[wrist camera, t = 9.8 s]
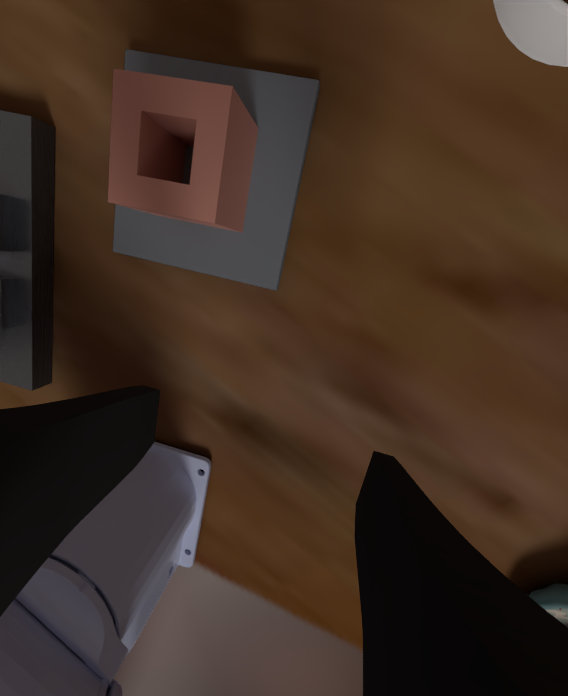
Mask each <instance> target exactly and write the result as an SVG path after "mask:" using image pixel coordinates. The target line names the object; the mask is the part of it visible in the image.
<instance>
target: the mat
mask: <svg viewBox="0 0 568 696" xmlns="http://www.w3.org/2000/svg"><path fill="white" fill-rule="evenodd" d="M124 70H128V71H134V72H141V73H148V74H155V75H161V76H168V77H175V78H182V79H188V80H195V81H202V82H209V83H215V84H222V85H229V86H233V88H234V89H235V91H236V92H237V94H238V96H239V97H240V99H241V101H242V102H243V104H244V106H245V107H246V109H247V111H248V112H249V114H250V115H251V117H252V119H253V120H254V122H255V124H256V125H257V127H258V135H257V141H256V148H255V154H254V161H253V167H252V174H251V180H250V187H249V193H248V200H247V206H246V213H245V219H244V226H243V232H242V233H241V232H236V231H232V230H227V229H222V228H217V227H212V226H207V225H202V224H197V223H192V222H187V221H182V220H177V219H172V218H167V217H162V216H157V215H153V214H150V213H146V212H142V211H139V210H135V209H131V208H128V207H124V206H120V205H117V204H116V208H115V224H114V239H113V252H116V253H121V254H125V255H129V256H133V257H137V258H142V259H146V260H150V261H154V262H158V263H163V264H167V265H171V266H175V267H180V268H184V269H188V270H192V271H196V272H201V273H205V274H209V275H213V276H218V277H222V278H226V279H230V280H234V281H239V282H243V283H247V284H251V285H255V286H260V287H264V288H268V289H272V290H278V287H279V282H280V277H281V273H282V268H283V263H284V258H285V253H286V249H287V244H288V239H289V234H290V229H291V224H292V220H293V215H294V210H295V205H296V200H297V195H298V191H299V186H300V181H301V176H302V171H303V166H304V162H305V157H306V152H307V147H308V142H309V137H310V133H311V128H312V123H313V118H314V113H315V108H316V104H317V99H318V94H319V89H320V83H319V80H315V79H309V78H302V77H296V76H290V75H284V74H278V73H271V72H265V71H259V70H253V69H246V68H240V67H234V66H228V65H222V64H215V63H209V62H203V61H197V60H190V59H184V58H178V57H172V56H166V55H159V54H153V53H147V52H141V51H134V50H128V49H126V50H125V65H124ZM193 148H194V147H192V146H186V154H185V164H184V174H183V184H187V185H190V176H191V167H192V158H193Z"/></svg>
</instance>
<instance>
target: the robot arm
mask: <svg viewBox="0 0 568 696" xmlns="http://www.w3.org/2000/svg"><path fill="white" fill-rule="evenodd" d="M159 396H160V390H157V389H154V388H150V387H147V386H134V387H128V388H122V389H117V390H112V391H107V392H103V393H98V394H93V395H88V396H83V397H78V398H73V399H67V400H62V401H56V402H50V403H45V404H39V405H32V406H25V407H17V408H8V409H0V696H122V688H121V686H120V684H119V683H118V682H117V681H116V680H114V677H115V675H116V673H117V671H118V670H119V668H120V666H121V664H122V662H123V661H124V659H125V657H126V655H127V654H128V653H129V651H130V650H131V649H132V647H133V645H134V644H135V642H136V640H137V639H138V637H139V635H140V633H141V631H142V629H143V628H144V626H145V624H146V622H147V620H148V619H149V616H150V615H151V613H152V611H153V609H154V608H155V606H156V604H157V602H158V600H159V598H160V597H161V595H162V593H163V591H164V589H165V587H166V586H167V584H168V582H169V580H170V578H171V577H172V575H173V573H174V571H175V569H176V568H177V566H178V565H181V566H183V567H191V566H192V565H193V563H194V560H195V554H196V549H197V543H198V537H199V532H200V526H201V520H202V515H203V509H204V503H205V498H206V492H207V486H208V481H209V475H210V469H211V462H210V460H209V459H208V458H206V457H203V456H200V455H197V454H193V453H190V452H187V451H184V450H180V449H177V448H174V447H170V446H167V445H164V444H160V443H157V442H154V439H155V430H156V421H157V413H158V404H159ZM200 469H202V470H204V472H202V471H201V470H200ZM355 546H356V558H357V569H358V580H359V591H360V602H361V613H362V628H363V696H568V627H567V626H565V625H564V624H563V623H561V622H560V621H559V620H558V619H556V618H555V617H554V616H553V615H551V614H550V613H549V612H547V611H546V610H545V609H544V608H542V607H541V606H540V605H539V604H538V603H536V602H535V601H534V600H533V599H532V598H530V597H529V596H528V595H527V594H526V593H524V592H523V591H522V590H521V589H520V588H518V587H517V586H516V585H515V584H514V583H512V582H511V581H510V580H509V579H508V578H507V577H506V576H504V575H503V574H502V573H501V572H500V571H499V570H498V569H497V568H495V567H494V566H493V565H492V564H491V563H490V562H489V561H488V560H487V559H486V558H485V557H484V556H483V555H482V554H481V553H480V552H478V551H477V550H476V549H475V548H474V547H473V546H472V545H471V544H470V543H469V542H468V541H467V540H466V539H465V538H464V537H463V536H462V535H461V534H460V533H459V532H458V531H457V530H456V528H455V527H454V526H453V525H452V524H451V523H450V522H449V521H448V520H447V519H446V518H445V517H444V516H443V514H442V513H441V512H440V511H439V510H438V509H437V508H436V507H435V505H434V504H433V503H432V502H431V501H430V500H429V498H428V497H427V496H426V495H425V494H424V492H423V491H422V490H421V489H420V488H419V486H418V485H417V484H416V483H415V481H414V480H413V479H412V478H411V477H410V475H409V474H408V473H407V472H406V470H405V469H404V468H403V467H402V465H401V464H400V463H399V462H398V461H397V460H396V459H395V458H394V457H393V456H390V455H386V454H383V453H379V452H376V451H374V452H373V455H372V458H371V461H370V464H369V467H368V470H367V473H366V476H365V479H364V481H363V484H362V487H361V490H360V493H359V496H358V499H357V502H356V512H355Z"/></svg>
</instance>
